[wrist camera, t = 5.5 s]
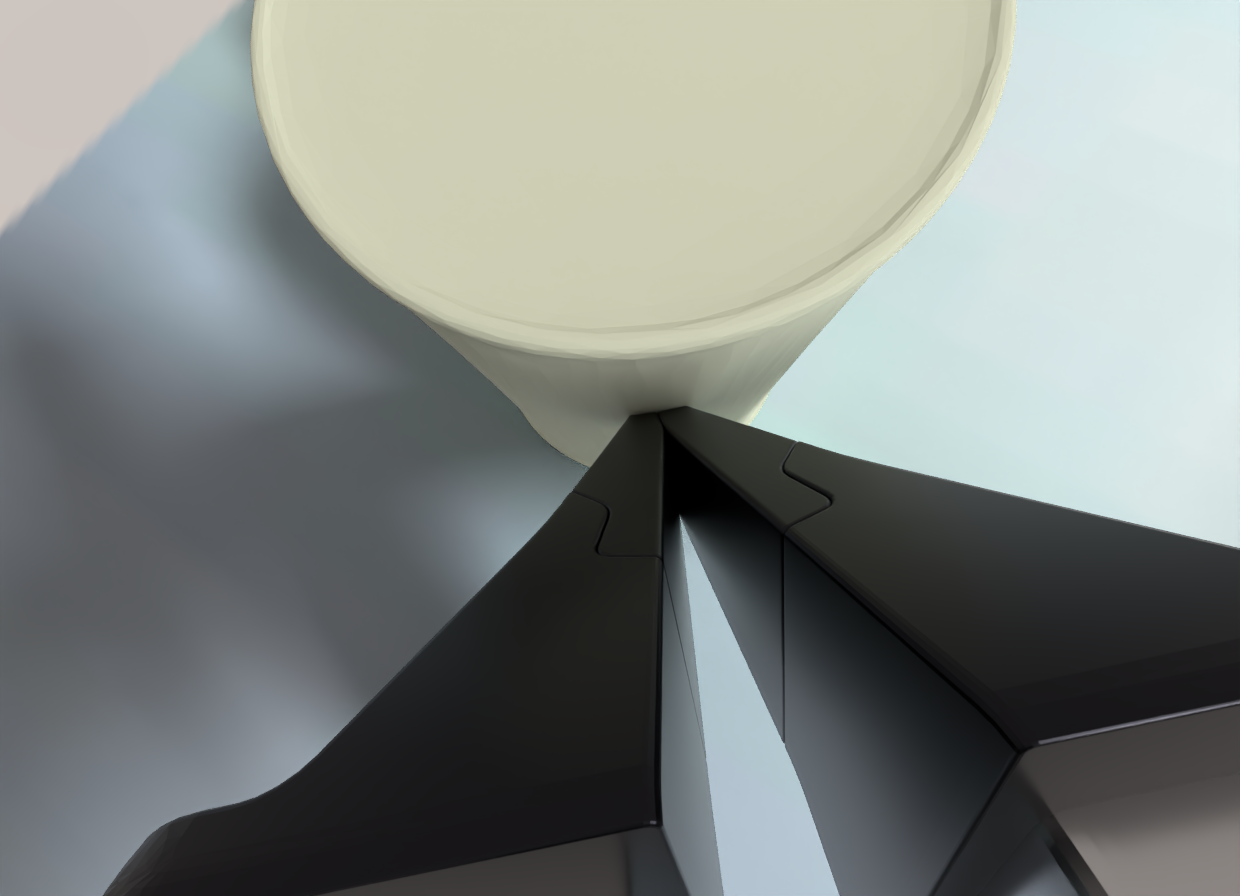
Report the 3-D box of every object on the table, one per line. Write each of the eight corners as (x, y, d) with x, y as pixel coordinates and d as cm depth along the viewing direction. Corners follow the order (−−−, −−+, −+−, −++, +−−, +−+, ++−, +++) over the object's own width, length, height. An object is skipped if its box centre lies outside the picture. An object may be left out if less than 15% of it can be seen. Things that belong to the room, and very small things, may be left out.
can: (828, 295, 17) (1214, -217, 5) (685, 531, 16) (777, 531, 4) (598, 172, 19) (503, -461, 7) (453, 385, 18) (44, 83, 6)
